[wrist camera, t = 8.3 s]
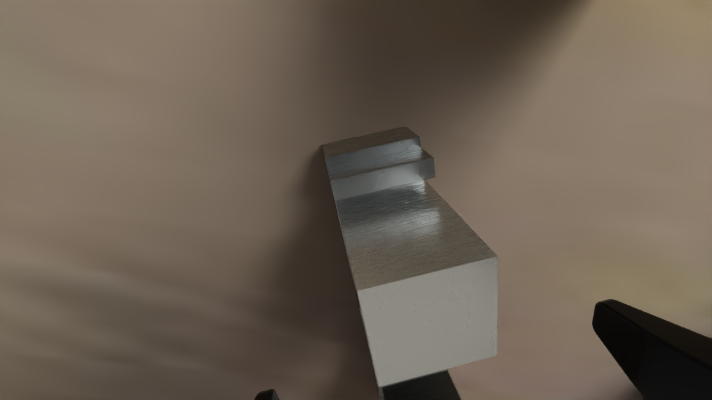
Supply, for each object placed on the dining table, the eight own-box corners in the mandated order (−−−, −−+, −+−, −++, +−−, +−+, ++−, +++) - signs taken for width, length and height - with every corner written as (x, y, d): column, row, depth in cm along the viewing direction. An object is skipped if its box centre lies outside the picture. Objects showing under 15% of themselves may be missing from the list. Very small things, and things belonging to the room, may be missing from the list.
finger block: (432, 264, 17) (497, 367, 11) (354, 283, 16) (381, 399, 11) (424, 179, 15) (497, 256, 9) (335, 200, 14) (357, 290, 9)
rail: (435, 379, 23) (495, 527, 16) (379, 394, 23) (415, 551, 16) (405, 126, 16) (496, 193, 8) (321, 145, 15) (341, 230, 8)
